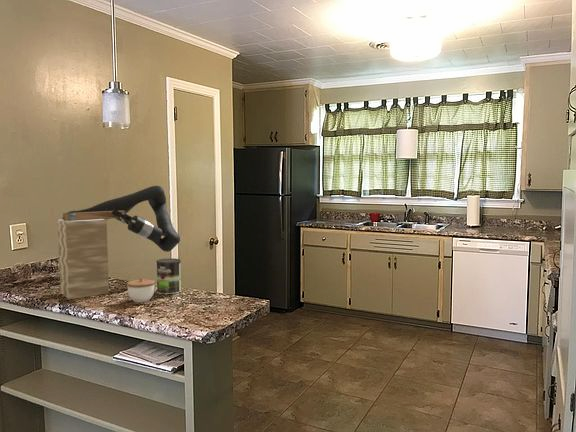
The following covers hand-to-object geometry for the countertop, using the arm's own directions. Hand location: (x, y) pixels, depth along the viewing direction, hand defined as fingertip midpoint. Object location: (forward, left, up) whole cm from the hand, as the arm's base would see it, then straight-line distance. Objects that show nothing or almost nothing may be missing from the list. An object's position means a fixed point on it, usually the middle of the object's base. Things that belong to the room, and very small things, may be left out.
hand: (109, 210), depth 208 cm
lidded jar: (+28, +2, -36) cm, 45 cm away
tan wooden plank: (0, -6, -3) cm, 7 cm away
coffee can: (+22, +17, -35) cm, 45 cm away
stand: (0, -12, -35) cm, 37 cm away
